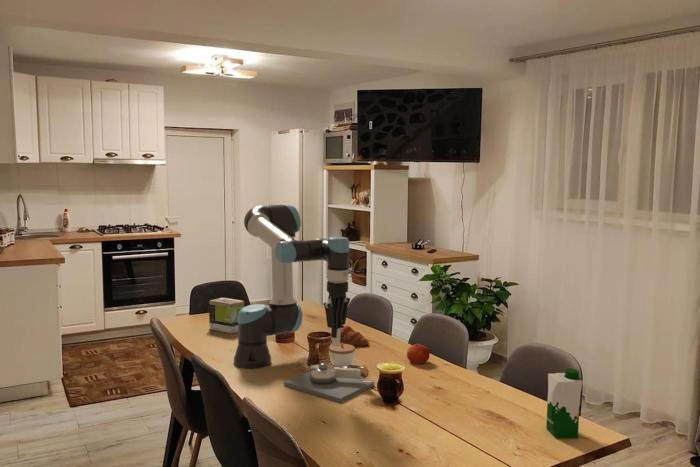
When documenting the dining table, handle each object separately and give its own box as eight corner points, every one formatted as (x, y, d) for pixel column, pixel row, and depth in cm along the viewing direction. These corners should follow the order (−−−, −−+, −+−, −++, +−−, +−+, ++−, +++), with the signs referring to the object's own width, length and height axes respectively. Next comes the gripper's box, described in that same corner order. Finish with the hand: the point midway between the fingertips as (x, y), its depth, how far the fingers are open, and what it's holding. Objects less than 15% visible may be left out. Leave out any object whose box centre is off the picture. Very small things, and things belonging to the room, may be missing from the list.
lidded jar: (352, 371, 238) (352, 348, 237) (325, 368, 240) (326, 346, 239) (357, 362, 248) (357, 340, 247) (331, 360, 250) (332, 338, 249)
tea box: (245, 329, 296) (245, 300, 294) (230, 334, 287) (230, 304, 286) (223, 325, 304) (222, 296, 302) (208, 329, 295) (208, 299, 294)
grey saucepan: (305, 382, 219) (305, 367, 218) (311, 373, 229) (311, 359, 228) (364, 387, 216) (365, 371, 215) (368, 377, 226) (368, 362, 225)
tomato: (403, 363, 249) (403, 344, 248) (411, 357, 257) (412, 339, 256) (424, 367, 244) (425, 348, 244) (432, 361, 253) (432, 342, 252)
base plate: (284, 385, 221) (284, 381, 220) (319, 370, 237) (319, 366, 237) (340, 402, 205) (340, 398, 205) (374, 385, 222) (374, 381, 222)
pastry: (359, 337, 287) (359, 321, 286) (369, 346, 272) (370, 329, 271) (325, 339, 282) (325, 323, 281) (334, 349, 267) (334, 331, 266)
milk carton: (582, 439, 181) (586, 375, 179) (553, 440, 180) (557, 375, 178) (569, 427, 189) (573, 365, 187) (541, 427, 189) (545, 366, 186)
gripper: (334, 285, 203) (333, 352, 206) (357, 279, 213) (354, 343, 216) (317, 282, 207) (316, 347, 210) (340, 276, 218) (338, 339, 221)
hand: (335, 345), depth 213 cm, fingers closed
